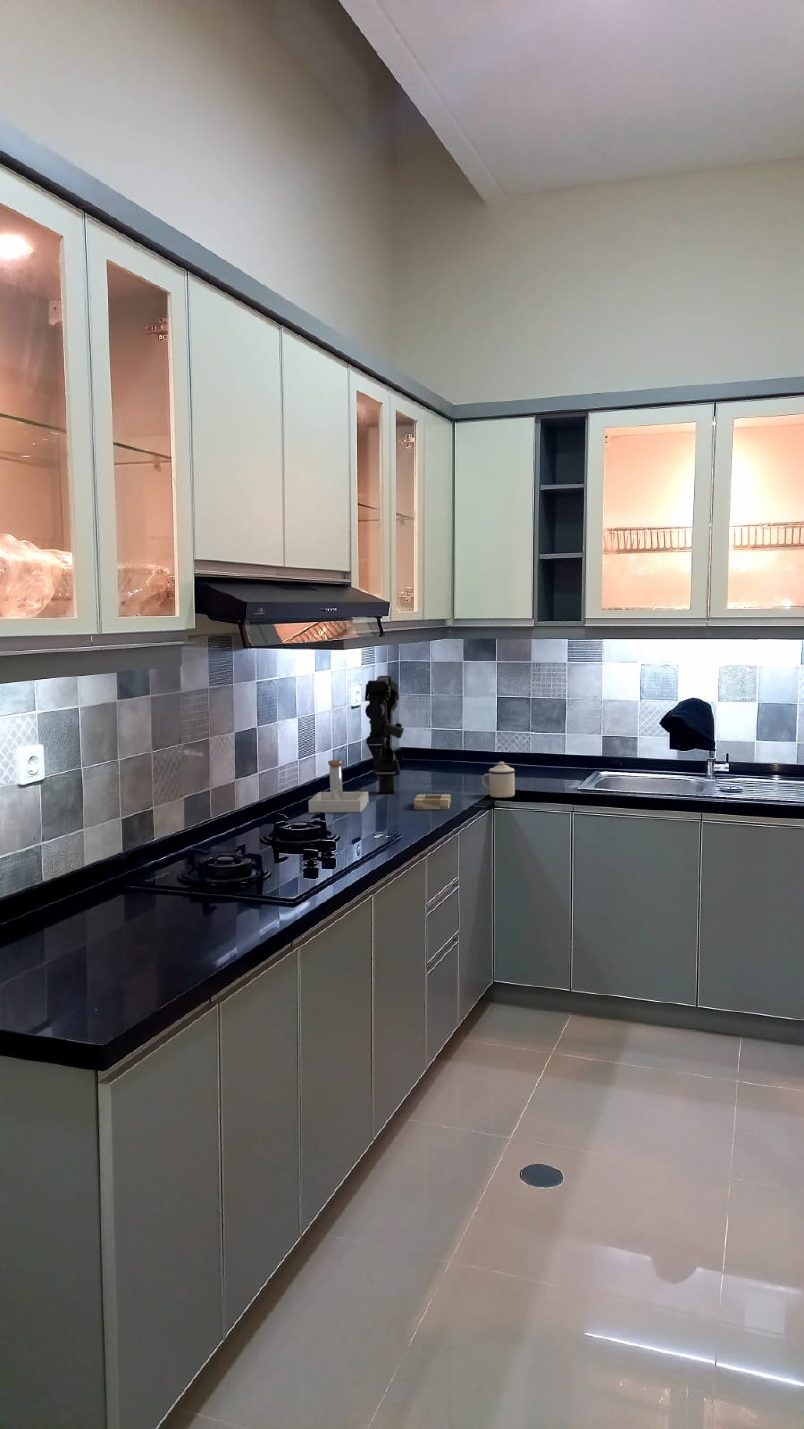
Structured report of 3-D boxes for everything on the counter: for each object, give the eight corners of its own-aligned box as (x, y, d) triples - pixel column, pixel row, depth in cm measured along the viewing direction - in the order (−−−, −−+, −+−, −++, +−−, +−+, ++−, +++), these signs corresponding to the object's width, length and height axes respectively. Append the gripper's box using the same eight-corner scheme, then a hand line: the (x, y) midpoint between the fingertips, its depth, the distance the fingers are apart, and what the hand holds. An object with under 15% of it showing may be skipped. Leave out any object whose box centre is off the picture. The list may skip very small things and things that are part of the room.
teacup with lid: (519, 794, 352) (519, 760, 351) (509, 798, 344) (508, 764, 343) (488, 792, 358) (487, 759, 357) (477, 796, 350) (476, 762, 349)
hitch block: (417, 803, 340) (417, 794, 339) (450, 803, 338) (450, 794, 338) (414, 809, 329) (414, 800, 329) (448, 809, 328) (448, 800, 327)
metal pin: (340, 804, 338) (339, 759, 337) (346, 806, 334) (345, 761, 333) (327, 805, 336) (325, 760, 335) (333, 807, 332) (331, 762, 330)
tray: (319, 803, 346) (318, 792, 345) (368, 802, 344) (368, 791, 343) (308, 812, 329) (308, 801, 329) (360, 812, 327) (360, 800, 327)
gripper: (398, 719, 336) (399, 765, 337) (405, 714, 354) (406, 758, 356) (365, 719, 337) (366, 766, 339) (373, 714, 356) (374, 758, 357)
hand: (379, 762), depth 348 cm, fingers open, 9 cm apart
